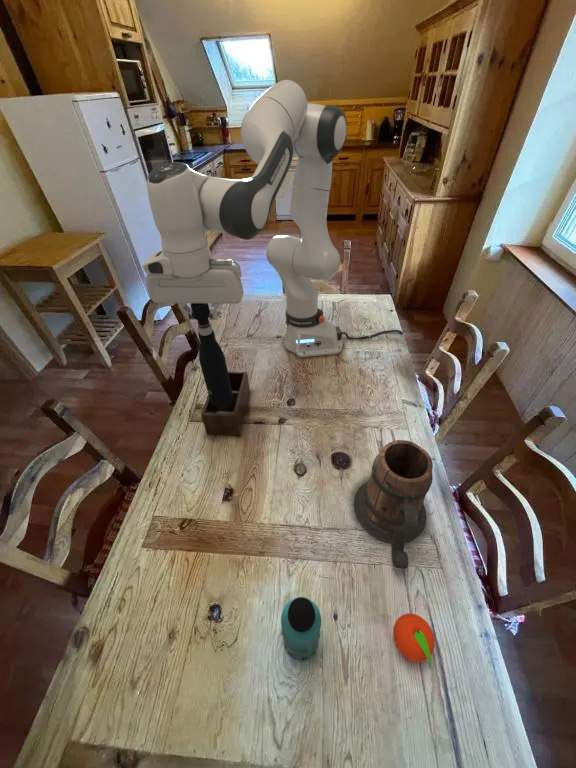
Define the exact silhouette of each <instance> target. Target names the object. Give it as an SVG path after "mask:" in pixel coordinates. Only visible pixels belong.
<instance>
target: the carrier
mask: <svg viewBox="0 0 576 768" xmlns="http://www.w3.org/2000/svg"><path fill="white" fill-rule="evenodd" d="M228 375H229V380H230V385H231V390H232V395H233V399H232V400H231V402H230V403H228V404H227V405H224V406H215V405H213V404H212V403H211V402H210V398H209V395H208V394H207V397H206V400H205V402H204V404H203V408H202V411H201V413H200V416H201V420H202V424H203V426H204V429H205V433H206V436H220V437H221V436H224V437H225V436H226V437H240V436H241V433H242V430H243V425H244V421H245V416H246V412H247V407H248V402H249V398H250V394H251V390H250V382H249V376H248V375H249V374H248V371H237V370H236V371H234V370H233V371H232V370H231V371H230V370H228Z"/></svg>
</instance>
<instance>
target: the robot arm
mask: <svg viewBox="0 0 576 768" xmlns="http://www.w3.org/2000/svg"><path fill="white" fill-rule="evenodd" d="M347 131H348V123H347V118H346V114H345V113H344V111H343V109H342V108H340V107H338V106H336V105H332V104H327V105H324V104H319V103H314V102H313V103H312V102H308V99H307V96H306V93H305V91H304V90H303V88H302V87H301V86H300V84H299V83H297V82H296V81H294V80H291V79H283V80H280V81H278V82H276V83H274V84H273V85H271V86H270V87H269V88H268V89H266V90H265V91H264V92H263V93H261V94H260V96H258V98H256V100H255V101H254V102H253V103H252V105H250V107H249V108H248V110H247V111H246V113H245V114H244V116H243V118H242V121H241V123H240V138H241V141H242V145H243V147H244V150H245V151H246V153H247V155H248V156H249V158H251V160H252V161H253V162H254V163H255V164H256V165H257V167H256V168H255V171H253V174H252V176H250V177H247V178H242V179H233V178H223V177H217V176H210V175H206V174H202V173H199V172H197V171H195V170H193V169H192V168H190V167H189V165H188V164H187V163H184V162H180V161H173V162H172V161H171V162H167V163H163V164H160V165H157V166H156V167H154V168H152V170H150V172H149V173H148V175H147V180H146V185H147V186H146V187H147V196H148V201H149V207H150V210H151V213H152V217H153V221H154V224H155V226H156V227H155V228H156V229H157V230H158V232H159V234H160V238H161V242H160V243H161V249H159V250H157V251H154V252H153V253H152V254H150V256H148V258H147V259H146V260H145V261H144V263H143V265H142V269H143V271H144V273H145V274H146V275H145V279H144V282H145V287H146V290H147V294H148V297H149V299H150V300H151V301H152V302H153V303H155V304H177V305H178V308H179V309H180V310H181V311H182V312H183V313H184V314H185V317H186V319H187V320H195V319H194V317H193V313H192V309H191V307H189V305H188V304H191V303H208V304H210V305H211V306H210V307H211V308H213V309H209V310H210V312H209V313H208V314H209V318H208V319H209V321H210V320H211V321H212V320H213V321H215V320H217V319H218V317H219V316H218V311H217V310H218V308H219V306H220V304H222V305H223V304H225V305H227V304H228V305H231V304H232V305H233V304H234V305H236V304H240V303H241V301H242V300H243V297H244V288H243V283H242V279H241V277H242V270H241V265H240V264H239V263H238V262H236V261H234V260H233V259H232V258H225V259H221V258H211V252H210V246H209V242H208V239H207V236H206V234H207V232H209V231H212V232H217V233H221V234H226V235H229V236H233V237H235V238H238V239H242V240H245V241H249V240H253V239H254V238H256V237H257V236H258V235H259V234H261V233H262V231H263V230H264V228H265V227H266V225H267V223H268V220H269V218H270V213H271V208H272V206H273V204H274V201H275V200H276V197H277V195H278V194H279V191H280V189H281V187H282V186H283V183H284V181H285V179H286V177H287V174H288V172H289V170H290V168H291V166H292V165H291V164H292V162H293V158H294V157H296V158H297V161H296V165H295V169H294V174H293V182H292V189H291V198H290V208H289V215H290V217H291V219H292V221H293V222H294V223H295V224H296V225H297V227H298V229H299V230H300V234H301V237H298V236H292V235H275V236H273V237H272V238H270V240H269V241H268V244H267V246H266V249H265V250H266V251H265V254H266V259H267V262H268V263H269V265H270V266H271V267H272V268H273V269H274V270H275V271H276V273H277V275H278V277H279V278H280V281H281V283H282V286H283V288H284V291H285V298H286V299H285V300H286V310H285V323H286V332H285V337H284V341H283V346H284V347H285V348H286V349H287V350H288V351H290V352H292V353H294V354H295V355H296V356H297V357H299V358H309V357H311V358H312V357H320V356H329V355H338V354H340V353H341V351H342V349H343V345H344V344H343V343H344V342H343V337H342V335H345V337H346V338H347V339H349V340H363V339H368V338H373V337H376V336H379V335H382V334H387V333H399V334H400V335H404V333H403V331H401V330H399V329H391V330H383V331H379V332H377V333H373V334H370V335H365V336H364V335H363V336H360V337H351V336H349V334H348V333H347V332H344V331H342V329H341V328H340V326H335V324H334V323H333V322H332V321H330V320H328V319H326V318H325V316H324V311H323V308H322V307H320V308H319V291H318V287H317V285H316V284H314V282H313V281H311V280H319V281H320V280H321V281H322V280H323V281H327V280H328V281H329V280H331V279H333V277H334V276H335V275H336V274H338V273H337V272H338V271H339V269H340V266H341V256H340V252H339V251H338V249H337V247H336V246H335V245H334V244H333V242H332V240H331V237H330V234H329V230H328V220H327V218H328V207H329V202H330V201H329V200H330V193H331V186H332V177H333V176H332V175H333V160H334V159H335V158H336V157H337V156H338V155H339V154H340V153H341V151H342V149H343V147H344V145H345V142H346V138H347V133H348V132H347Z"/></svg>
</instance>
